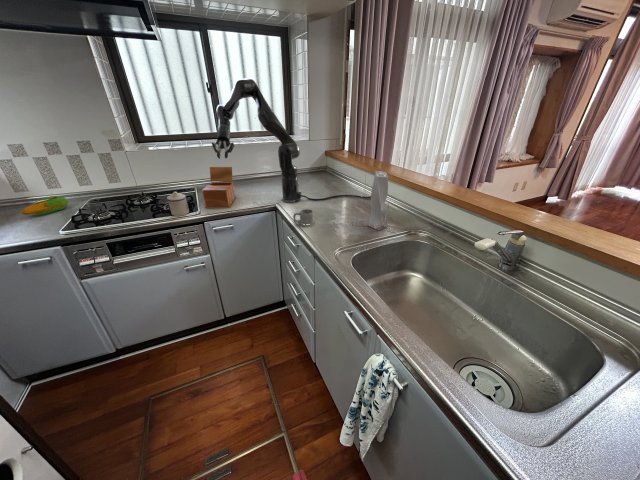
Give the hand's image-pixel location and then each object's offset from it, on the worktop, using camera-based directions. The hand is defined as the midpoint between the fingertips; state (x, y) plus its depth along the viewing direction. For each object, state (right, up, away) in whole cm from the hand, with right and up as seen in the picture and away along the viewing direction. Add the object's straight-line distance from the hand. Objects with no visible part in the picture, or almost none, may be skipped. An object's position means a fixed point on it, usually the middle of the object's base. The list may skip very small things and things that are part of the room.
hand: (222, 157), depth 163 cm
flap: (+1, -11, -3) cm, 11 cm away
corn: (-85, -36, -21) cm, 95 cm away
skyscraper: (+87, -44, -31) cm, 103 cm away
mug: (+52, -42, -29) cm, 73 cm away
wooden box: (+1, -28, -5) cm, 28 cm away
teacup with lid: (-17, -35, -18) cm, 43 cm away
